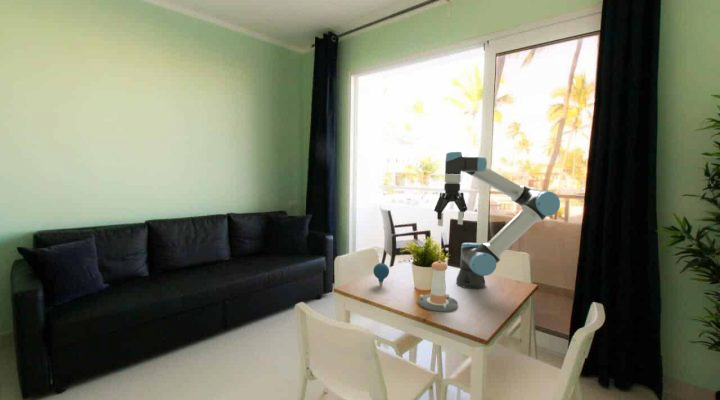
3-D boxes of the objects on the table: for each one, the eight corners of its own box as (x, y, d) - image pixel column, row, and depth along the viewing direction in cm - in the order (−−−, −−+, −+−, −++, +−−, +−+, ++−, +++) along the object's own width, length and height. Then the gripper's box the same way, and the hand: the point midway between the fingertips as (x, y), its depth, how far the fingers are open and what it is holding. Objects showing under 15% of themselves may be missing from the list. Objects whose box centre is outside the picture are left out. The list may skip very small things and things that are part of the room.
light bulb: (381, 281, 183) (382, 260, 182) (391, 286, 176) (392, 264, 175) (369, 284, 178) (370, 262, 177) (380, 289, 171) (380, 266, 170)
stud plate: (447, 295, 164) (447, 290, 164) (464, 310, 146) (465, 305, 146) (412, 297, 161) (413, 291, 161) (426, 312, 143) (426, 306, 143)
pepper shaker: (446, 298, 156) (448, 259, 154) (445, 304, 149) (447, 263, 147) (430, 296, 158) (432, 257, 156) (429, 302, 151) (431, 261, 149)
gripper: (464, 182, 174) (462, 222, 176) (428, 182, 162) (426, 225, 163) (475, 183, 167) (473, 224, 169) (438, 183, 155) (436, 227, 157)
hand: (450, 225), depth 166 cm, fingers open, 13 cm apart
